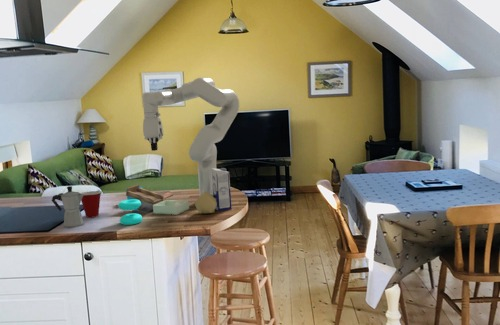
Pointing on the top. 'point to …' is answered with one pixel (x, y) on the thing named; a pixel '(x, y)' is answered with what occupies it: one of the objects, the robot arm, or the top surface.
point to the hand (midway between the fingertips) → (154, 150)
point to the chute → (146, 195)
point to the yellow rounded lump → (206, 203)
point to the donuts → (133, 217)
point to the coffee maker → (70, 207)
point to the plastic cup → (91, 203)
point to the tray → (170, 207)
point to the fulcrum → (143, 208)
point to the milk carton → (221, 188)
